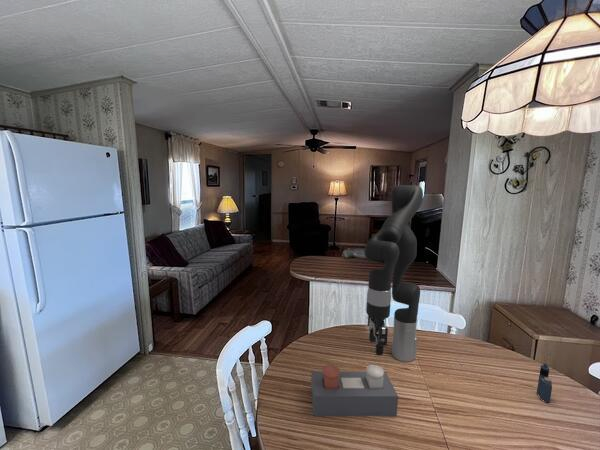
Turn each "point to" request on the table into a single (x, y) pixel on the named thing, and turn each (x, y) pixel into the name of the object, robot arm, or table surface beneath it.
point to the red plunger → (330, 376)
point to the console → (353, 396)
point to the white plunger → (374, 377)
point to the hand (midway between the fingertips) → (375, 347)
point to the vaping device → (544, 384)
